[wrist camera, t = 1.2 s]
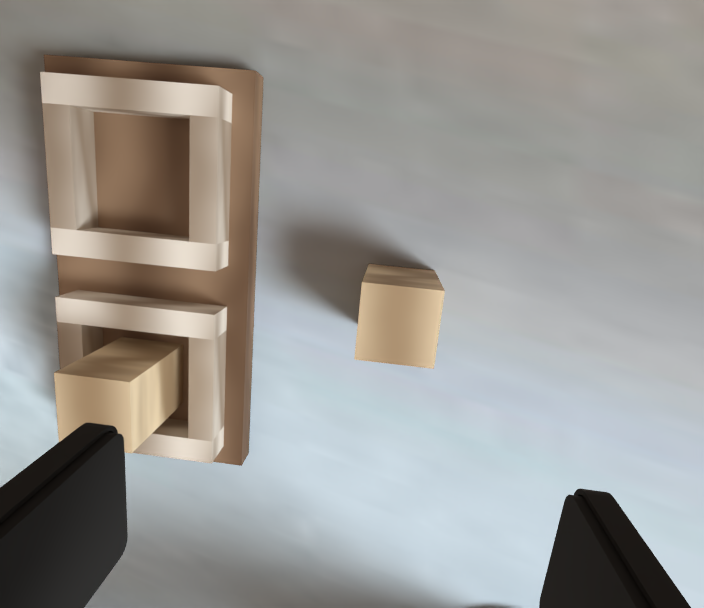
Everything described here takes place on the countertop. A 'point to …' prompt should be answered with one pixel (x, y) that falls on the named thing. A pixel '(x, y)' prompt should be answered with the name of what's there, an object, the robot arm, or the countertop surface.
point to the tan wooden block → (399, 316)
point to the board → (154, 250)
